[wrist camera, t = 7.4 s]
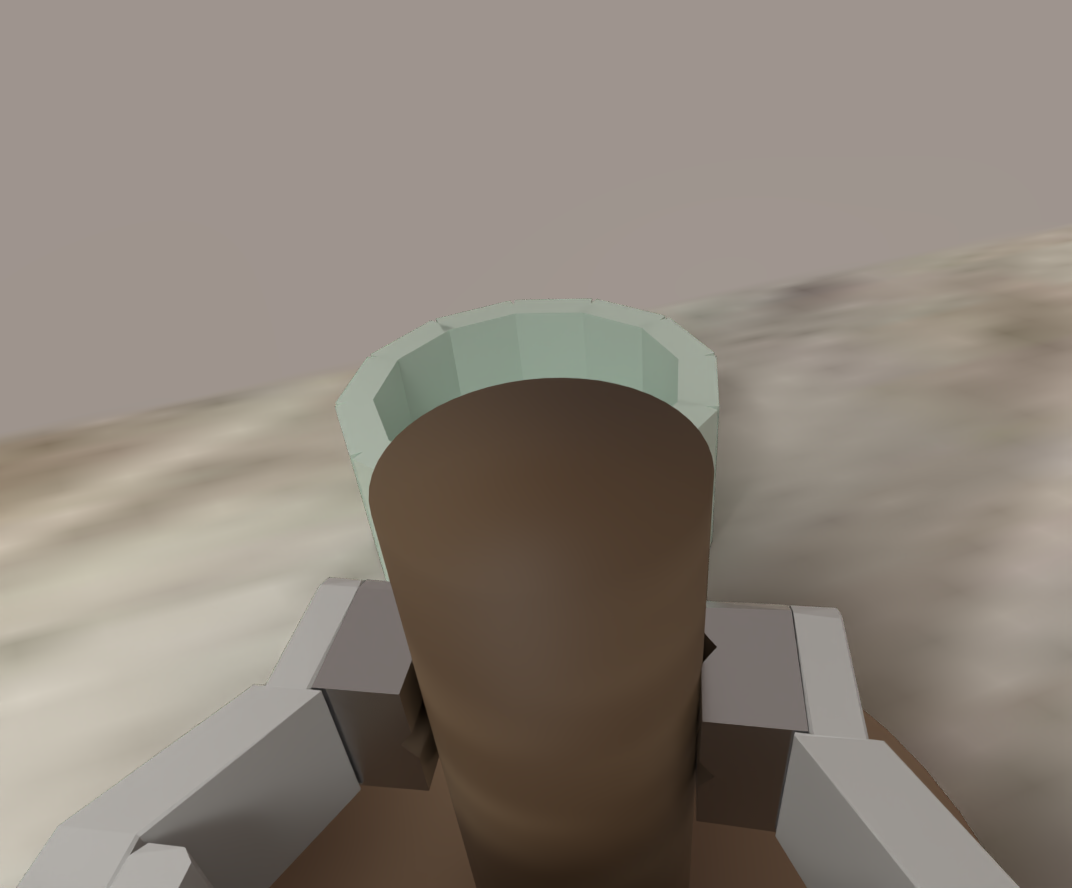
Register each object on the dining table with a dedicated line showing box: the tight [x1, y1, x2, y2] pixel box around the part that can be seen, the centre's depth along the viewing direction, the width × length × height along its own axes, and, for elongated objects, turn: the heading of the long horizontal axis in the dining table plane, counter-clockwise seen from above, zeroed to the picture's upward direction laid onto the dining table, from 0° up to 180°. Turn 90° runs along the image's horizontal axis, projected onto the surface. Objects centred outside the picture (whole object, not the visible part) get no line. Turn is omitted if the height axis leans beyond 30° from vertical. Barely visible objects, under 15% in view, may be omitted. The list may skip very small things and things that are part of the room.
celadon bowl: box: [335, 298, 719, 582], centre depth 22 cm, size 10×10×4 cm
